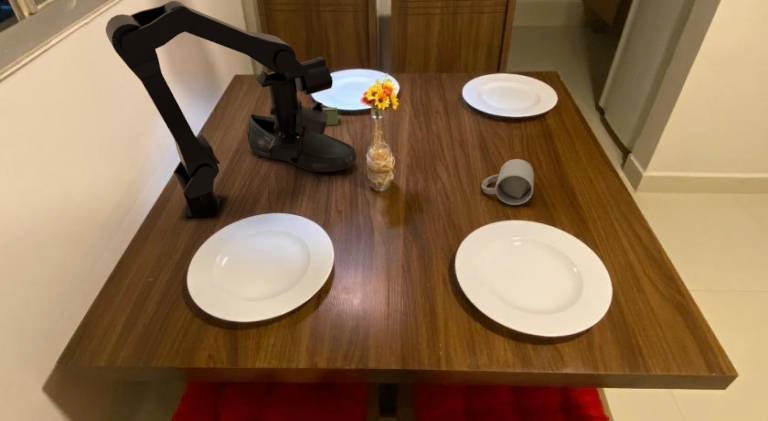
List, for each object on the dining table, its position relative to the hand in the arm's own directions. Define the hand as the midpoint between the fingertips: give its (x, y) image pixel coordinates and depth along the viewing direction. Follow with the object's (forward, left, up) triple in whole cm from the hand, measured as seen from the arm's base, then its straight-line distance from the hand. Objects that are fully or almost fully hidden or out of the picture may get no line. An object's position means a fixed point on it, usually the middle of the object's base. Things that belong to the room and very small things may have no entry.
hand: (295, 162), depth 102 cm
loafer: (+6, 0, -3) cm, 7 cm away
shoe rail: (+24, 0, -3) cm, 24 cm away
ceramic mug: (-11, -47, -3) cm, 48 cm away
